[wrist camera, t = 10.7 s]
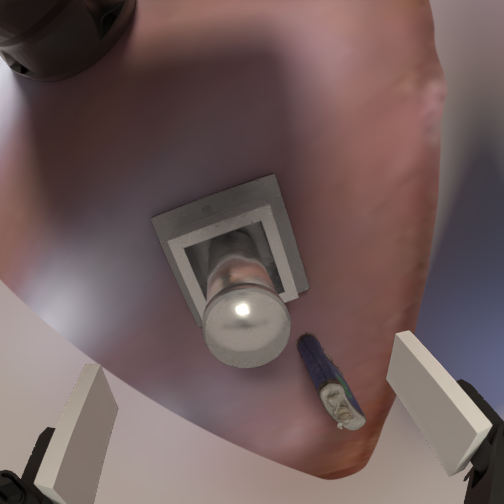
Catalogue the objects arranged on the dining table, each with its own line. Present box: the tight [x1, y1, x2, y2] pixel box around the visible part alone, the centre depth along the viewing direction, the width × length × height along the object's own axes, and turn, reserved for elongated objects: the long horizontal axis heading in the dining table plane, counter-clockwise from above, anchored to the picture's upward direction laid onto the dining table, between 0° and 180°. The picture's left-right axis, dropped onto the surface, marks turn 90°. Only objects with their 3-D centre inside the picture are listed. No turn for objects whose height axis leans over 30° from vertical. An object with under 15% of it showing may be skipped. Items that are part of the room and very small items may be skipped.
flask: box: [297, 333, 366, 430], centre depth 31 cm, size 9×3×11 cm, turn 34°
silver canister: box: [202, 231, 291, 368], centre depth 24 cm, size 5×5×14 cm
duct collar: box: [151, 173, 310, 327], centre depth 29 cm, size 12×12×5 cm
